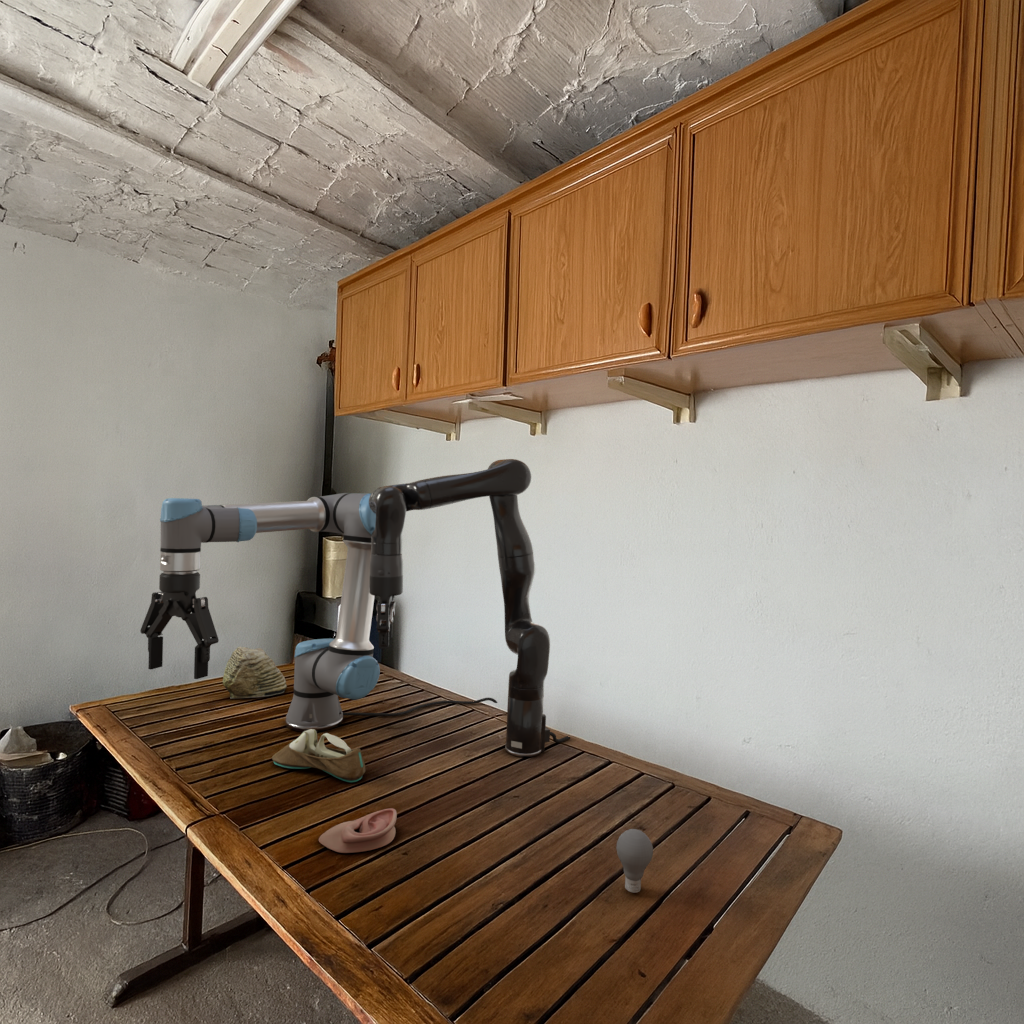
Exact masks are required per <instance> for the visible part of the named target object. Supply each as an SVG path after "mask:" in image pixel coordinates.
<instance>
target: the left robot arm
mask: <svg viewBox="0 0 1024 1024" xmlns="http://www.w3.org/2000/svg"><path fill="white" fill-rule="evenodd" d="M371 493H372V492H369V493H360V492H357V493H356V492H342V493H336V494H329V495H322V496H310V497H309V498H308V499H307V500H296V501H274V502H272V501H271V502H251V503H250V502H249V503H227V504H207V505H203V503H202V499H200V498H189V497H187V498H186V497H185V498H183V497H181V498H180V497H167V498H165V499H164V500H163V501H162V502H161V509H160V510H161V511H160V518H159V522H160V550H159V551H160V555H159V556H160V557H159V570H160V571H161V573H160V574H159V583H158V585H159V586H158V589H159V591H154V592H152V593H151V598H150V599H151V600H150V604H149V607H148V609H147V611H146V615H145V617H144V620H143V622H142V625H141V627H140V630H139V631H140V634H142V635H143V634H144V635H145V637H146V638H147V652H148V665H147V669H148V670H154V669H159V668H162V667H163V662H164V661H163V657H164V655H163V654H164V636H163V635H164V634H163V631H164V630H165V628H166V627H167V626H168V624H169V622H170V621H171V620H172V618H173V617H176V618H181V620H182V621H184V622H185V623H186V625H187V628H188V629H189V632H190V633H191V635H192V636H193V639H194V640H195V642H196V646H194V661H193V663H194V664H193V667H194V668H193V680H199V679H203V678H206V677H208V676H209V662H210V660H211V646H213V645H215V644H218V643H219V637H218V634H217V631H216V626H215V624H214V621H213V618H212V615H211V612H210V608H209V598H208V597H207V596H203V597H197V593H196V592H197V591H198V590H200V587H201V574H200V573H199V572H198V571H200V570H201V567H202V565H201V563H202V562H201V557H202V553H201V551H202V543H203V544H206V543H207V544H208V543H229V542H230V543H234V542H235V543H240V542H249V541H251V540H252V539H253V538H254V537H255V536H256V534H260V533H261V534H262V533H275V532H286V531H298V530H299V531H300V530H310V531H311V532H313V533H318V532H319V533H320V532H326V533H336V534H342V535H343V536H342V542H343V543H344V545H345V546H346V547H347V552H346V560H345V565H344V566H345V568H344V574H343V583H342V590H341V599H340V605H339V612H338V613H339V614H338V620H337V627H336V634H335V635H336V636H335V638H317V639H308V640H304V641H300V642H299V643H297V645H296V646H295V650H294V655H293V657H294V672H293V673H294V674H293V695H292V696H293V697H292V699H291V702H290V704H289V708H288V711H287V713H286V715H285V726H286V728H287V729H289V730H291V731H294V732H295V731H296V732H301V733H303V732H304V731H307V730H309V729H315V730H316V732H317V733H318V732H325V731H329V730H332V729H335V728H337V727H339V726H340V725H342V723H343V722H344V717H347V716H349V717H351V716H353V717H354V716H355V717H356V716H357V717H358V716H359V717H399V716H404V715H407V714H410V713H412V712H414V711H416V710H420V709H423V708H427V707H431V706H436V705H444V704H454V705H455V704H456V705H476V704H479V703H482V702H486V701H490V702H493V703H494V704H498V701H497V700H496V698H493V697H484V698H480V699H477V700H468V701H467V700H438V701H432V702H431V701H430V702H428V703H423V704H420V705H416V706H413V707H412V708H410V709H407V710H404V711H400V712H388V713H387V712H386V713H385V712H347V711H345V712H343V709H342V706H341V702H340V699H339V697H340V698H342V699H348V700H353V701H355V700H356V701H357V700H360V699H363V698H364V697H366V696H368V695H369V694H370V692H371V691H373V690H374V689H375V687H376V686H377V684H378V681H379V679H380V676H381V675H380V673H381V667H380V664H379V662H378V660H376V658H374V648H375V647H374V645H373V644H372V642H371V641H370V636H371V627H372V620H373V619H372V618H373V611H374V605H375V604H374V603H375V597H376V596H374V595H371V594H370V592H369V590H370V559H371V537H372V532H373V531H374V529H375V523H376V514H375V513H374V512H373V511H372V510H371V509H370V506H369V497H370V495H371ZM473 701H474V702H473Z"/></svg>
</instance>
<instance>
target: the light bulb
mask: <svg viewBox="0 0 1024 1024" xmlns="http://www.w3.org/2000/svg"><path fill="white" fill-rule="evenodd" d="M615 849H616V854H617V857H618V859H619V861H620V863H621V865H622V867H623V873H624V874H623V875H624V876H625V878H624V888H625V890H627V891H628V892H630V893H634V894H635V893H639V892H640V891H641V889H642V887H641V886H642V879H643V877H644V875H645V871H646V868H647V867H648V866H649V864H650V863H651V861H652V859H653V855H654V847H653V843H652V841H651V838H649V836H648V835H647V834H646V833H645V832H643V831H642V830H641V829H636V828H629V829H627V830H625V831H623V832H622V833H621V834H620V835H619V837H618V839H617V841H616V847H615Z"/></svg>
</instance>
